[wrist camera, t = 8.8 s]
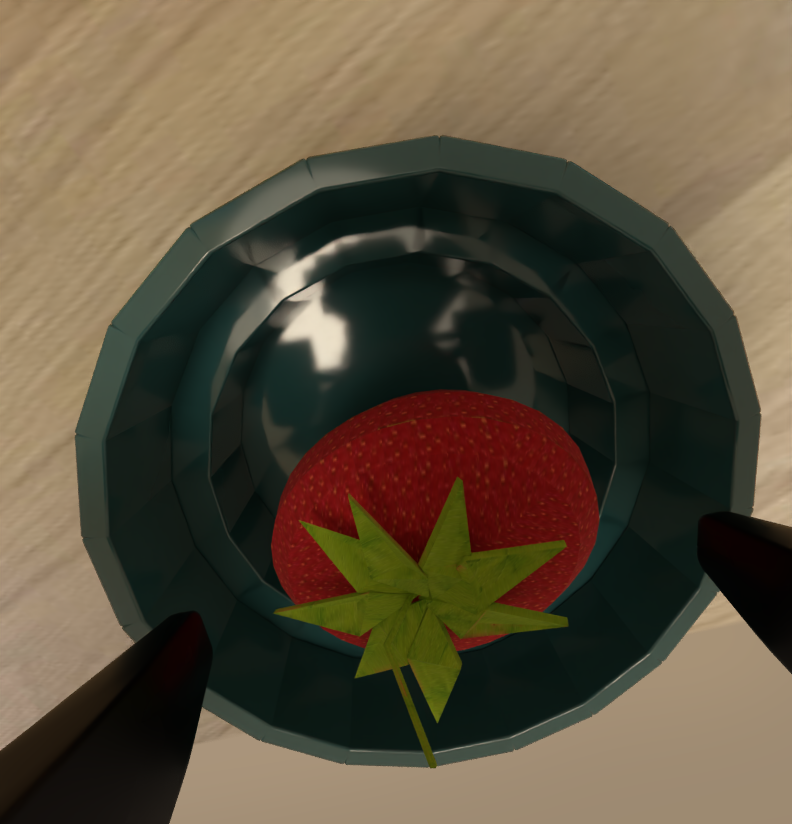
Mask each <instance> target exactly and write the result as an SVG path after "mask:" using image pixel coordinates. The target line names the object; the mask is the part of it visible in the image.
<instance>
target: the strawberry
mask: <svg viewBox="0 0 792 824" xmlns="http://www.w3.org/2000/svg"><path fill="white" fill-rule="evenodd" d="M598 526H599V511H598V502H597V495H596V492H595V489H594V486H593V483H592V480H591V476H590V473H589V470H588V467H587V465H586V463H585V461H584V458H583V456H582V454H581V451H580V449H579V447H578V446H577V445H576V443H575V442H574V441H573V440H572V439H571V437H570V436H569V435H568V434H567V433H566V431H565V430H564V429H563V428H562V427H561V426H559V425H558V424H557V423H555V422H554V421H552V420H551V419H550V418H548V417H547V416H545V415H544V414H543V413H541V412H540V411H537V410H535V409H533V408H530V407H528V406H526V405H523V404H521V403H519V402H516V401H514V400H511V399H506V398H502V397H497V396H492V395H488V394H483V393H478V392H472V391H466V390H444V389H440V390H431V391H423V392H415V393H412V394H408V395H404V396H401V397H397V398H393V399H391V400H388V401H386V402H384V403H382V404H379V405H377V406H375V407H373V408H370V409H368V410H366V411H364V412H362V413H360V414H358V415H356V416H353V417H352V418H350V419H348V420H347V421H345V422H344V423H342V424H341V425H339V426H338V427H336V428H335V429H333V430H332V431H330V432H328V433H327V434H326V435H325V436H324V437H322V438H321V439H320V440H319V441H318V442H317V443H316V444H315V445H314V446H313V447H312V448H311V449H310V450H308V451H307V452H306V453H305V455H304V456H303V457H302V459H301V460H300V462H299V463H298V464H297V466H296V467H295V468H294V470H293V471H292V473H291V474H290V476H289V479H288V481H287V483H286V486H285V488H284V490H283V492H282V495H281V498H280V502H279V506H278V511H277V515H276V519H275V524H274V530H273V536H272V543H271V549H272V558H273V566H274V569H275V571H276V574H277V576H278V579H279V581H280V584H281V586H282V587H283V589H284V590H285V591H286V593H287V594H288V596H289V597H290V598H291V600H292V601H293V602H294V604H295V605H294V606H289V607H284V608H280V609H276V610H275V612H274V614H277V615H281V616H285V617H289V618H292V619H296V620H300V621H304V622H307V623H311V624H315V625H319V626H320V627H321V628H322V629H324V630H325V631H327V632H329V633H331V634H332V635H334V636H336V637H338V638H339V639H341V640H343V641H346V642H349V643H351V644H354V645H357V646H359V647H362V648H365V651H364V653H363V656H362V659H361V662H360V665H359V667H358V670H357V673H356V676H355V678H359V677H362V676H366V675H370V674H374V673H378V672H382V671H386V670H390V669H393V672H394V675H395V677H396V680H397V683H398V685H399V688H400V691H401V693H402V696H403V699H404V701H405V704H406V707H407V709H408V712H409V714H410V717H411V720H412V722H413V725H414V728H415V730H416V733H417V736H418V738H419V741H420V744H421V746H422V749H423V752H424V754H425V757H426V759H427V762H428V765H429V767H430V768H436V766H437V763H436V760H435V758H434V755H433V753H432V750H431V747H430V745H429V742H428V740H427V737H426V735H425V732H424V729H423V727H422V724H421V722H420V719H419V716H418V714H417V711H416V709H415V706H414V704H413V701H412V698H411V696H410V693H409V691H408V688H407V686H406V683H405V680H404V678H403V675H402V673H401V670H400V667H402V666H406V665H409V664H410V666H411V668H412V671H413V673H414V675H415V677H416V679H417V681H418V683H419V686H420V688H421V690H422V692H423V694H424V696H425V698H426V700H427V703H428V705H429V707H430V709H431V711H432V713H433V715H434V718H435V720H436V722H437V723H438V721H439V719H440V716H441V714H442V712H443V709H444V707H445V705H446V702H447V700H448V698H449V696H450V693H451V691H452V689H453V686H454V684H455V682H456V679H457V677H458V675H459V672H460V670H461V666H462V661H461V659H460V657H459V655H458V653H457V651H460V650H465V649H469V648H472V647H475V646H479V645H482V644H485V643H489V642H491V641H494V640H496V639H498V638H500V637H503V636H505V635H507V634H509V633H517V632H525V631H534V630H542V629H551V628H559V627H568V626H569V625H568V619H567V617H563V616H558V615H553V614H548V613H543V611H544V610H545V609H546V608H547V607H548V606H549V605H551V604H552V603H553V602H554V601H555V600H556V599H557V598H558V597H559V596H560V595H561V594H562V593H563V592H564V591H565V590H566V589H567V588H568V586H569V585H570V584H571V583H572V581H573V580H574V579H575V578H576V576H577V575H578V574H579V572H580V571H581V570H582V569H583V567H584V566H585V564H586V562H587V560H588V558H589V555H590V553H591V551H592V549H593V547H594V545H595V542H596V536H597V531H598ZM355 678H354V679H355Z"/></svg>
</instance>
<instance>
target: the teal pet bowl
mask: <svg viewBox="0 0 792 824" xmlns="http://www.w3.org/2000/svg"><path fill="white" fill-rule="evenodd" d="M440 389H444V390H466V391H472V392H478V393H483V394H488V395H492V396H497V397H502V398H506V399H511V400H514V401H516V402H519V403H521V404H523V405H526V406H528V407H530V408H533V409H535V410H537V411H540V412H541V413H543V414H544V415H545V416H547V417H548V418H550V419H551V420H552V421H554V422H555V423H557V424H558V425H559V426H561V427H562V428H563V429H564V430H565V431H566V433H567V434H568V435H569V436H570V437H571V439H572V440H573V441H574V442H575V443H576V445H577V446H578V447H579V449H580V451H581V454H582V456H583V458H584V461H585V463H586V465H587V467H588V470H589V473H590V476H591V480H592V483H593V486H594V489H595V492H596V495H597V502H598V511H599V526H598V531H597V536H596V542H595V545H594V547H593V549H592V551H591V553H590V555H589V558H588V560H587V562H586V564H585V566H584V567H583V569H582V570H581V571H580V572H579V574H578V575H577V576H576V578H575V579H574V580H573V581H572V583H571V584H570V585H569V586H568V588H567V589H566V590H565V591H564V592H563V593H562V594H561V595H560V596H559V597H558V598H557V599H556V600H555V601H554V602H553V603H552V604H551V605H549V606H548V607H547V608H546V609H545V610H544V611H543V613H548V614H553V615H558V616H563V617H567V619H568V625H569V626H568V627H559V628H551V629H542V630H534V631H525V632H517V633H509V634H507V635H505V636H503V637H500V638H498V639H496V640H494V641H491V642H489V643H485V644H482V645H479V646H475V647H472V648H469V649H465V650H460V651H457V653H458V655H459V657H460V659H461V661H462V666H461V670H460V672H459V675H458V677H457V679H456V682H455V684H454V686H453V689H452V691H451V693H450V696H449V698H448V700H447V702H446V705H445V707H444V709H443V712H442V714H441V716H440V719H439V721H438V723H437V722H436V720H435V718H434V715H433V713H432V711H431V709H430V707H429V705H428V703H427V700H426V698H425V696H424V694H423V692H422V690H421V688H420V686H419V683H418V681H417V679H416V677H415V675H414V673H413V671H412V668H411V666H410V664H409V665H406V666H402V667H400V670H401V673H402V675H403V678H404V680H405V683H406V686H407V688H408V691H409V693H410V696H411V698H412V701H413V704H414V706H415V709H416V711H417V714H418V716H419V719H420V722H421V724H422V727H423V729H424V732H425V735H426V737H427V740H428V742H429V745H430V747H431V750H432V753H433V755H434V758H435V760H436V763H437V766H441V765H446V764H451V763H456V762H461V761H466V760H472V759H477V758H482V757H487V756H491V755H497V754H502V753H507V752H512V751H513V750H514V749H515V750H518V749H520V748H523V747H525V746H527V745H529V744H532V743H534V742H536V741H538V740H540V739H543V738H545V737H547V736H549V735H552V734H554V733H556V732H558V731H561V730H563V729H565V728H567V727H569V726H572V725H574V724H576V723H579V722H581V721H583V720H585V719H587V718H590V717H592V714H593V715H594V714H597V713H598V712H599V711H600V710H602V709H603V708H605V707H606V706H607V705H608V704H610V703H611V702H612V701H614V700H615V699H616V698H618V697H619V696H620V695H622V694H623V693H624V692H625V691H627V690H628V689H629V688H631V687H632V686H633V685H635V684H636V683H637V682H638V681H640V680H641V679H642V678H644V677H645V676H646V675H648V674H649V673H650V672H652V671H653V670H654V669H655V668H657V667H658V666H659V665H661V664H662V661H664V660H666V658H667V657H668V656H669V654H670V653H671V652H672V651H673V649H674V648H675V647H676V646H677V644H678V643H679V642H680V641H681V639H682V638H683V637H684V635H685V634H686V633H687V632H688V630H689V629H690V628H691V627H692V625H693V624H694V623H695V622H696V620H697V619H698V618H699V616H700V615H701V614H702V613H703V611H704V610H705V609H706V608H707V606H708V605H709V604H710V603H711V601H712V600H713V599H714V597H715V596H716V595H717V592H719V591H720V590H719V589H718V587H717V586H716V585H715V584H714V582H713V581H712V580H711V579H710V578H709V576H708V575H707V574H706V573H705V571H704V570H703V569H702V567H701V565H700V564H699V561H698V558H697V533H698V521H699V519H700V517H701V516H703V515H704V514H709V513H714V512H720V511H729V512H733V513H737V514H741V515H745V516H749V517H751V514H752V512H753V508H752V507H753V506H754V497H755V485H756V473H757V462H758V450H759V438H760V427H761V413H760V412H761V408H760V404H759V400H758V397H757V393H756V389H755V385H754V381H753V378H752V374H751V370H750V366H749V362H748V359H747V355H746V351H745V347H744V343H743V340H742V336H741V332H740V328H739V324H738V321H737V317H736V316H735V315H734V311H733V310H732V308H731V307H730V305H729V304H728V303H727V301H726V300H725V299H724V297H723V296H722V294H721V293H720V292H719V290H718V289H717V288H716V286H715V285H714V283H713V282H712V281H711V279H710V278H709V277H708V275H707V274H706V272H705V271H704V270H703V268H702V267H701V265H700V264H699V263H698V261H697V260H696V259H695V257H694V256H693V254H692V253H691V252H690V250H689V249H688V248H687V246H686V245H685V243H684V242H683V241H682V239H681V238H680V236H679V235H678V234H677V232H676V231H675V230H674V228H673V227H671V226H669V224H668V223H667V222H666V221H664V220H663V219H661V218H660V217H658V216H656V215H655V214H653V213H652V212H650V211H649V210H647V209H645V208H644V207H642V206H641V205H639V204H638V203H636V202H634V201H633V200H631V199H630V198H628V197H626V196H625V195H623V194H622V193H620V192H619V191H617V190H615V189H614V188H612V187H611V186H609V185H608V184H606V183H604V182H603V181H601V180H600V179H598V178H597V177H595V176H593V175H592V174H590V173H589V172H587V171H586V170H584V169H582V168H581V167H579V166H578V165H576V164H574V163H573V162H571V161H568V162H567V160H566V159H563V158H558V157H553V156H548V155H542V154H537V153H532V152H527V151H522V150H517V149H512V148H507V147H501V146H496V145H491V144H486V143H481V142H476V141H471V140H466V139H461V138H455V137H450V136H445V135H442V136H440V137H439V136H437V135H433V136H427V137H421V138H415V139H409V140H403V141H398V142H392V143H386V144H380V145H374V146H368V147H363V148H357V149H351V150H345V151H339V152H333V153H328V154H322V155H316V156H310V157H308V158H307V159H306V160H305V159H301V160H299V161H297V162H296V163H294V164H292V165H291V166H289V167H287V168H285V169H284V170H282V171H280V172H279V173H277V174H275V175H273V176H272V177H270V178H268V179H267V180H265V181H263V182H261V183H260V184H258V185H256V186H255V187H253V188H251V189H249V190H248V191H246V192H244V193H243V194H241V195H239V196H237V197H236V198H234V199H232V200H231V201H229V202H227V203H226V204H224V205H222V206H220V207H219V208H217V209H215V210H214V211H212V212H210V213H208V214H207V215H205V216H203V217H202V218H200V219H198V220H196V221H195V222H193V223H191V225H190V227H188V228H186V230H185V231H184V232H183V233H182V235H181V236H180V237H179V238H178V239H177V241H176V242H175V243H174V244H173V246H172V247H171V248H170V249H169V251H168V252H167V253H166V254H165V256H164V257H163V258H162V259H161V261H160V262H159V263H158V264H157V266H156V267H155V268H154V269H153V270H152V272H151V273H150V274H149V275H148V277H147V278H146V279H145V280H144V282H143V283H142V284H141V285H140V287H139V288H138V289H137V290H136V292H135V293H134V294H133V295H132V297H131V298H130V299H129V300H128V301H127V303H126V304H125V305H124V306H123V308H122V309H121V310H120V311H119V313H118V314H117V315H116V316H115V318H114V319H113V320H112V322H111V324H110V325H109V326H108V329H107V332H106V335H105V338H104V342H103V345H102V348H101V351H100V354H99V357H98V361H97V364H96V367H95V370H94V373H93V376H92V379H91V383H90V386H89V389H88V392H87V395H86V398H85V402H84V405H83V408H82V411H81V414H80V417H79V420H78V424H77V427H76V430H75V433H76V435H75V447H76V463H77V479H78V494H79V510H80V526H81V536H82V537H83V539H82V540H83V543H84V546H85V548H86V550H87V552H88V555H89V557H90V559H91V561H92V564H93V566H94V568H95V570H96V573H97V575H98V577H99V579H100V582H101V584H102V586H103V588H104V591H105V593H106V595H107V597H108V600H109V602H110V604H111V606H112V609H113V611H114V613H115V615H116V618H117V620H118V622H119V624H120V626H123V627H122V629H123V630H124V631H125V632H126V634H127V635H128V636H129V637H130V638H131V639H132V640H133V641H134V642H135V643H136V642H138V641H139V640H140V639H141V638H143V637H144V636H145V635H146V634H148V633H149V632H150V631H151V630H153V629H154V628H155V627H156V626H158V625H159V624H160V623H161V622H163V621H164V620H165V619H166V618H168V617H169V616H171V615H173V614H176V613H181V612H186V611H192V610H194V611H197V612H198V613H199V614H200V615H201V617H202V620H203V623H204V625H205V628H206V631H207V634H208V636H209V639H210V642H211V644H212V648H213V661H212V666H211V670H210V674H209V679H208V683H207V687H206V692H205V696H204V700H203V705H202V707H203V708H205V709H206V710H208V711H210V712H211V713H213V714H215V715H216V716H218V717H220V718H221V719H223V720H225V721H226V722H228V723H230V724H231V725H233V726H235V727H237V728H238V729H240V730H242V731H243V732H245V733H247V734H248V735H250V736H252V737H253V738H255V739H257V740H261V741H262V742H265V743H269V744H273V745H276V746H280V747H283V748H287V749H290V750H294V751H297V752H301V753H305V754H308V755H312V756H315V757H319V758H322V759H326V760H329V761H333V762H336V763H340V764H344V763H345V764H346V765H368V766H398V767H426V768H428V767H429V765H428V762H427V759H426V757H425V754H424V752H423V749H422V746H421V744H420V741H419V738H418V736H417V733H416V730H415V728H414V725H413V722H412V720H411V717H410V714H409V712H408V709H407V707H406V704H405V701H404V699H403V696H402V693H401V691H400V688H399V685H398V683H397V680H396V677H395V675H394V672H393V669H390V670H386V671H382V672H378V673H374V674H370V675H366V676H362V677H359V678H355V676H356V673H357V670H358V667H359V665H360V662H361V659H362V656H363V653H364V651H365V648H362V647H359V646H357V645H354V644H351V643H349V642H346V641H343V640H341V639H339V638H338V637H336V636H334V635H332V634H331V633H329V632H327V631H325V630H324V629H322V628H321V627H320V626H319V625H315V624H311V623H307V622H304V621H300V620H296V619H292V618H289V617H285V616H281V615H277V614H274V612H275V610H276V609H280V608H284V607H289V606H294V605H295V604H294V602H293V601H292V600H291V598H290V597H289V596H288V594H287V593H286V591H285V590H284V589H283V587H282V586H281V584H280V581H279V579H278V576H277V574H276V571H275V569H274V566H273V558H272V549H271V543H272V536H273V530H274V524H275V519H276V515H277V511H278V506H279V502H280V498H281V495H282V492H283V490H284V488H285V486H286V483H287V481H288V479H289V476H290V474H291V473H292V471H293V470H294V468H295V467H296V466H297V464H298V463H299V462H300V460H301V459H302V457H303V456H304V455H305V453H306V452H307V451H308V450H310V449H311V448H312V447H313V446H314V445H315V444H316V443H317V442H318V441H319V440H320V439H321V438H322V437H324V436H325V435H326V434H327V433H328V432H330V431H332V430H333V429H335V428H336V427H338V426H339V425H341V424H342V423H344V422H345V421H347V420H348V419H350V418H352V417H353V416H356V415H358V414H360V413H362V412H364V411H366V410H368V409H370V408H373V407H375V406H377V405H379V404H382V403H384V402H386V401H388V400H391V399H393V398H397V397H401V396H404V395H408V394H412V393H415V392H423V391H431V390H440ZM354 678H355V679H354Z"/></svg>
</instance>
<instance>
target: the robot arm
mask: <svg viewBox="0 0 792 824" xmlns="http://www.w3.org/2000/svg"><path fill="white" fill-rule="evenodd" d="M697 558H698V561H699V564H700V565H701V567H702V569H703V570H704V571H705V573H706V574H707V575H708V576H709V578H710V579H711V580H712V581H713V582H714V584H715V585H716V586H717V587H718V589H719V590H720V591H721V592H722V593H723V595H724V596H725V597H726V598H727V599H728V601H729V602H730V603H731V604H732V606H733V607H734V608H735V609H736V610H737V612H738V613H739V614H740V615H741V617H742V618H743V619H744V620H745V621H746V623H747V624H748V625H749V626H750V628H751V629H752V630H753V631H754V632H755V634H756V635H757V636H758V637H759V638H760V639H761V641H762V642H763V643H764V644H765V645H766V647H767V648H768V649H769V650H770V651H771V652H772V653H773V654H774V656H775V657H776V658H777V659H778V660H779V661H780V662H781V663H782V664H783V665H784V666H785V667H786V668H787V669H788V671H789V672H790V673H791V674H792V527H789V526H785V525H781V524H777V523H773V522H769V521H765V520H761V519H757V518H753V517H749V516H745V515H741V514H737V513H733V512H729V511H720V512H714V513H709V514H704V515H703V516H701V517H700V519H699V521H698V533H697ZM212 661H213V648H212V644H211V642H210V639H209V636H208V634H207V631H206V628H205V625H204V623H203V620H202V617H201V615H200V614H199V613H198V612H197V611H194V610H192V611H186V612H181V613H176V614H173V615H171V616H169V617H168V618H166V619H165V620H164V621H163V622H161V623H160V624H159V625H158V626H156V627H155V628H154V629H153V630H151V631H150V632H149V633H148V634H146V635H145V636H144V637H143V638H141V639H140V640H139V641H138V642H136V643H135V644H134V645H133V646H131V647H130V648H129V649H128V650H126V651H125V652H124V653H123V654H121V655H120V656H119V657H118V658H116V659H115V660H114V661H113V662H111V663H110V664H109V665H108V666H106V667H105V668H104V669H103V670H101V671H100V672H99V673H98V674H96V675H95V676H94V677H92V678H91V679H90V680H89V681H87V682H86V683H85V684H84V685H82V686H81V687H80V688H79V689H77V690H76V691H75V692H74V693H72V694H71V695H70V696H69V697H67V698H66V699H65V700H64V701H62V702H61V703H60V704H59V705H57V706H56V707H55V708H54V709H52V710H51V711H50V712H49V713H47V714H46V715H45V716H44V717H42V718H41V719H40V720H39V721H37V722H36V723H35V724H34V725H32V726H31V727H30V728H29V729H27V730H26V731H25V732H24V733H22V734H21V735H20V736H19V737H17V738H16V739H15V740H13V741H12V742H11V743H10V744H8V745H7V746H6V747H5V748H3V749H2V750H1V751H0V824H169V823H170V819H171V816H172V813H173V810H174V807H175V804H176V801H177V798H178V795H179V792H180V788H181V785H182V783H183V779H184V776H185V773H186V769H187V766H188V763H189V759H190V755H191V751H192V747H193V744H194V739H195V735H196V731H197V726H198V722H199V718H200V713H201V709H202V705H203V700H204V696H205V692H206V687H207V683H208V679H209V674H210V670H211V666H212Z"/></svg>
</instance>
